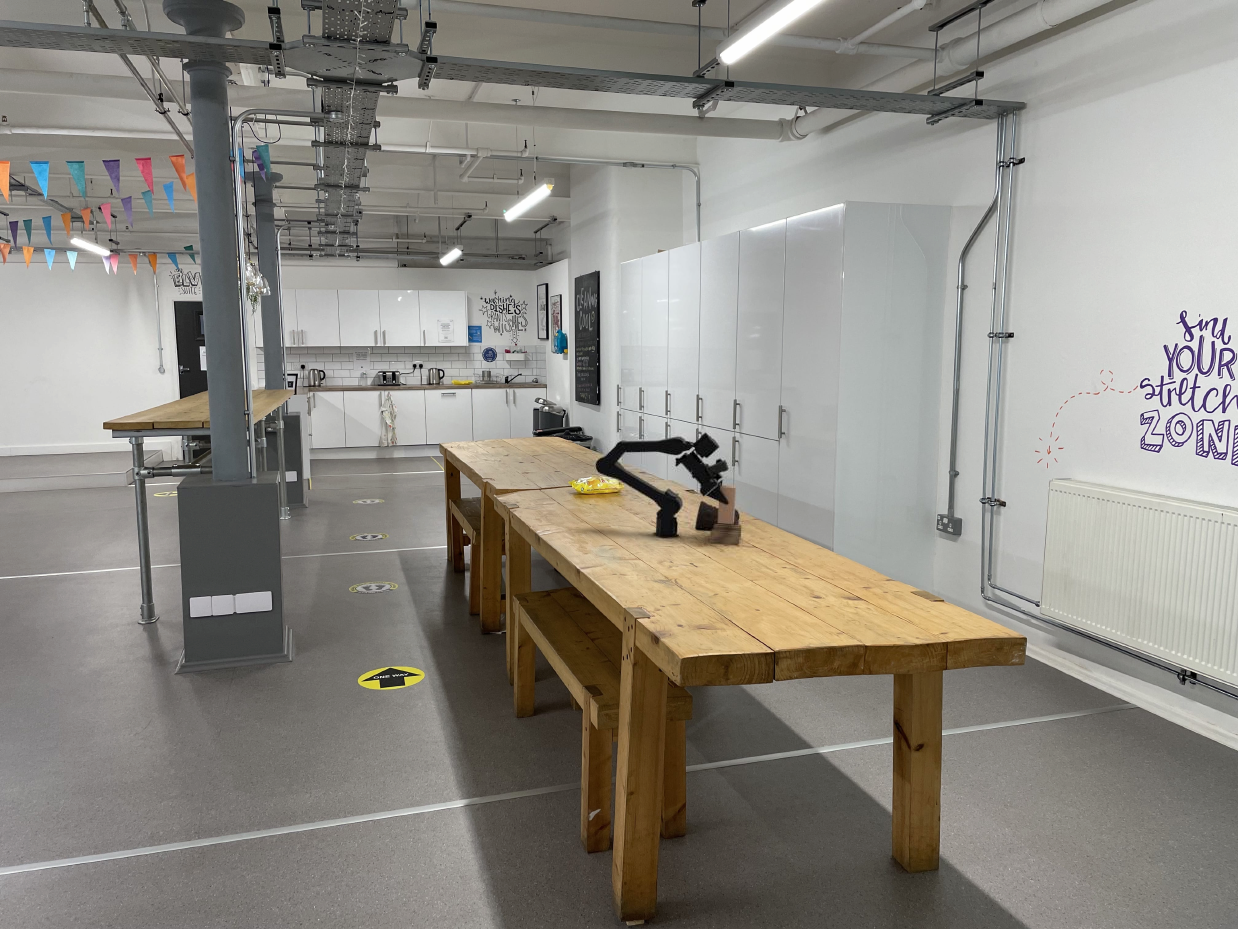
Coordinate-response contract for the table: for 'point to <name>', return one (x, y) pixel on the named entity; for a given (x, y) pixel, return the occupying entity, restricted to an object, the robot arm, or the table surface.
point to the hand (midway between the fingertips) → (728, 502)
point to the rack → (725, 534)
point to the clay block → (727, 510)
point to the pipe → (711, 516)
